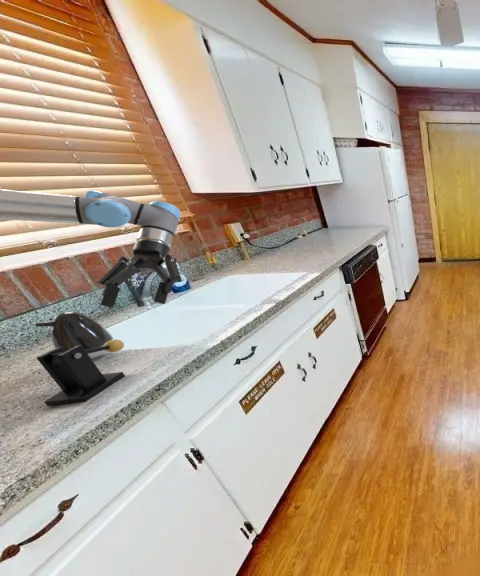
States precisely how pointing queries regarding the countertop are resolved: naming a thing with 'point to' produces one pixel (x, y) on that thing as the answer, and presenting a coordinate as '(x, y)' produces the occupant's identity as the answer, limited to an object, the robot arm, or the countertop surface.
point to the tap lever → (96, 349)
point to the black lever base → (76, 376)
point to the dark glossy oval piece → (77, 332)
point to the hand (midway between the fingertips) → (133, 304)
